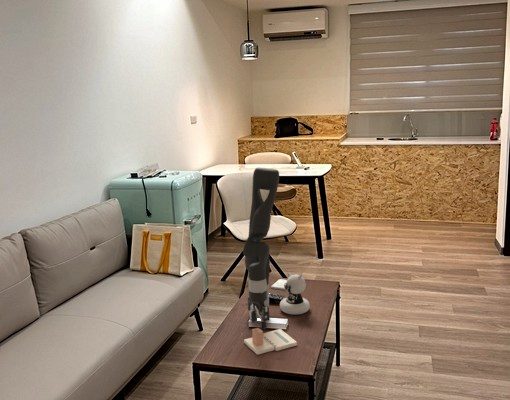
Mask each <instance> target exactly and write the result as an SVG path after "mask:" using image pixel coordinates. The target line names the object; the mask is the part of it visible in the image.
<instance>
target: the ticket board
mask: <svg viewBox="0 0 510 400" xmlns="http://www.w3.org/2000/svg"><path fill="white" fill-rule="evenodd" d="M263 338H264V339H265V340H267V341H268V342H269V343H270V344H271V345H272V346H274V351H276V352H277V351H280V350H284V349H289V348H292V347H295V346H297V345H298V342H297V341H296V340H295V339H294V338H292V337H291V335H289V334H288V333H286V332H285V331H284V330H283V329H281V328H279V329H275V330H272V331H267V332H263Z"/></svg>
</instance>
